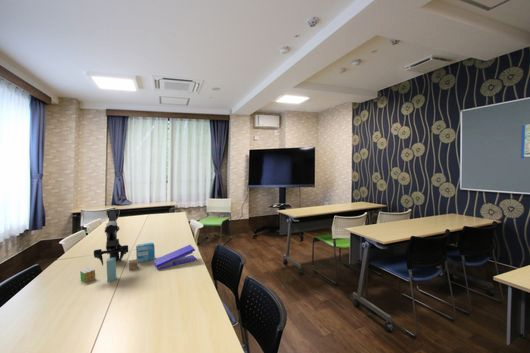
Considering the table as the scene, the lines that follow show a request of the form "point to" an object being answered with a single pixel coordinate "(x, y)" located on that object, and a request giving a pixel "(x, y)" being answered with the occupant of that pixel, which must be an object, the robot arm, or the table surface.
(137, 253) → the data package
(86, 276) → the puzzle toy
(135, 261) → the walnut cube
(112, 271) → the teal block
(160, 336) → the table surface
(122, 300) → the table surface
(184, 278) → the table surface
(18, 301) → the table surface
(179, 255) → the stapler
